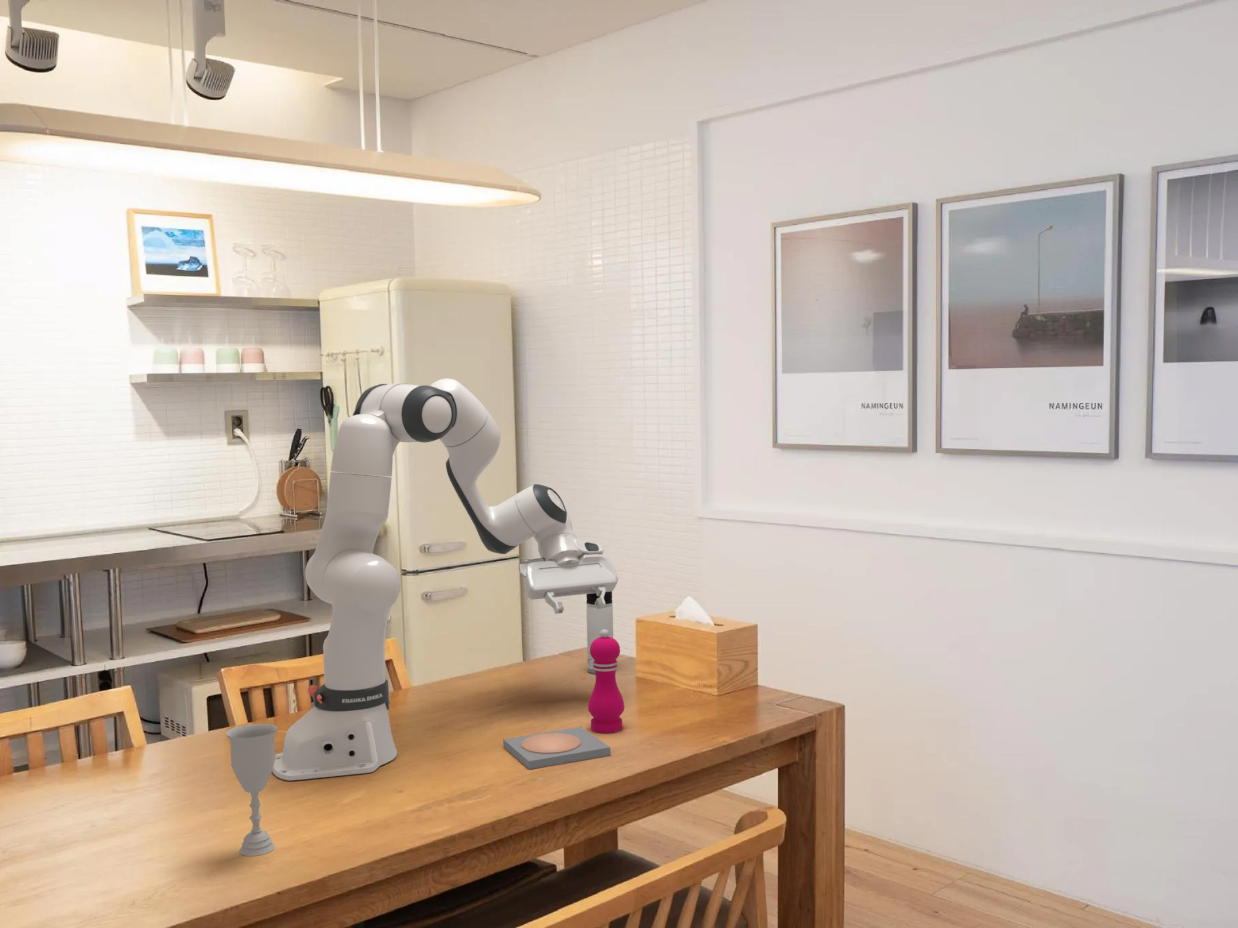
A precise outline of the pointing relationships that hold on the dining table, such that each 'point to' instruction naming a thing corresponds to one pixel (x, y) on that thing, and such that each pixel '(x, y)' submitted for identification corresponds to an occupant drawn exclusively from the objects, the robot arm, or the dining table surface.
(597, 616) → the travel mug
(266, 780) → the chalice
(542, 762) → the mount board
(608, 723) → the pepper mill
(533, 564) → the robot arm
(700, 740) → the dining table surface
